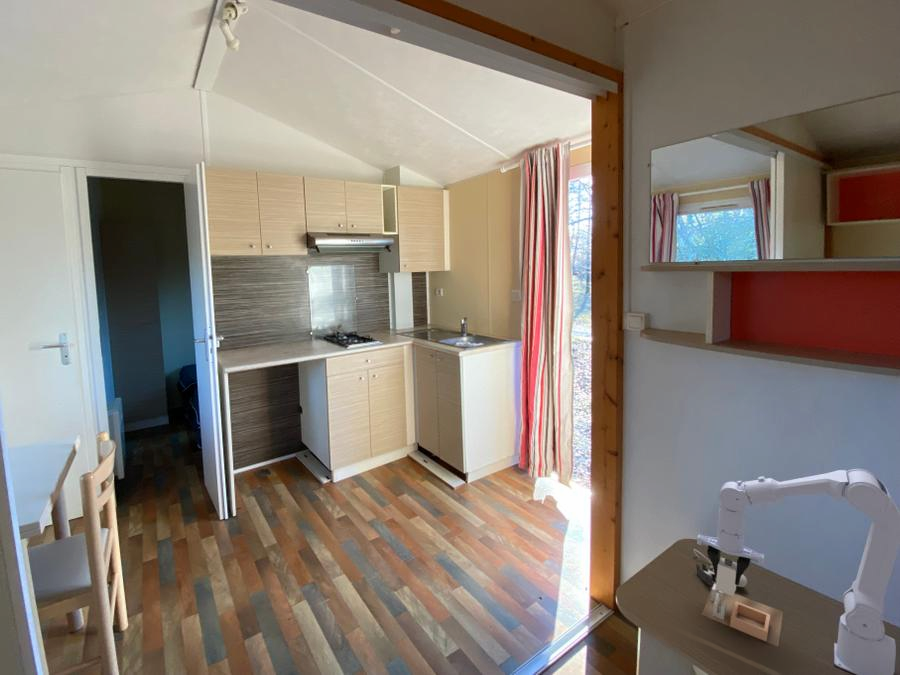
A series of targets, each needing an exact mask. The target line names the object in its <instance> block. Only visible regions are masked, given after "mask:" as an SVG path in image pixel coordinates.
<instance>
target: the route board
mask: <svg viewBox="0 0 900 675" xmlns="http://www.w3.org/2000/svg"><path fill="white" fill-rule="evenodd" d="M711 587H712V588H713V586H711ZM712 588H711V590H710V592H709V594H708V598H707V600H706V602H705V604H704V605H705V606H704V607H703V610H702V612H701V616H703V617H705V618H708V619H710V620H712V621H716V622H718V623H720V624H722V625H725V626H727V627H729V628H731V629H734V630H737V631H738V632H742V631H740V630H738V629H735V628H733V627H731V626H730V622H731V615H732V612H733V609H734V605H735V602H739V603H741V604H744V605H747V606H749V607H752V608H754V609H757V610H759V611H762V612H765V613H767V614H770V624H769V630H768V635H767V641H764V640H761V639H759V638H757V637H754V636H752V635H750V634H747V633H745V632H742V633H744V634H746V635H749V636H751V637H753V638H756V639H758V640H761V641H763V642H765V643H768V644H770V645H771V646H774V647H777V648H779V644H780V637H781V630H782V622H783V618H784V617H783V615H784V611H782V610H780V609H777V608H774V607H772V606H768V605H766V604H763V603H761V602H758V601H755V600H754V599H750V598H748V597H744V596H743V595H740V594H737V593H734V596H731V595H728V594H726V593H724V597H723V600H725V601H727V606H726V615H725V618H724V620H722V619H720V618H718V617H715V616H713V609H714V602H713V601H711V595H712ZM717 593H719V591H718V590H717ZM722 602H723V601H722ZM721 605H722V604H719V607H720V608H721ZM736 618H739V619H741V620H744V621H746V622H749V623H751V624H753V625H756V626H758V627H761V628H763V629H764V626H765V624H764V623H762V622H759V621H757V620H754V619H752V618H749V617H747V616H744V615H742V614H739V613H738V614H737V617H736Z"/></svg>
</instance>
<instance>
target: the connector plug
mask: <svg viewBox="0 0 900 675" xmlns="http://www.w3.org/2000/svg"><path fill="white" fill-rule="evenodd" d="M736 575H737V562H735V561H733V560H732V559H730V558H728V557H727V558H725V557H720V561H719V563H718V569H717V578H716V583H715V584H716V588H715V589H716V590H718V591H721V592H723V593H726V594H728V595H731V596H734V593H735V592H736V591H737V585H736V584H735V580H736ZM735 594H736V593H735Z"/></svg>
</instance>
